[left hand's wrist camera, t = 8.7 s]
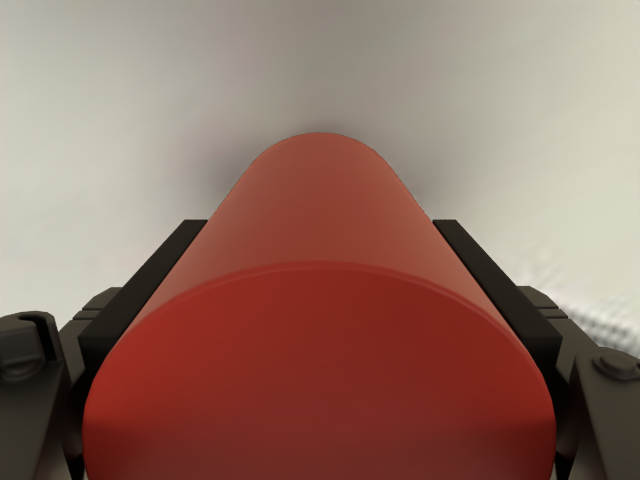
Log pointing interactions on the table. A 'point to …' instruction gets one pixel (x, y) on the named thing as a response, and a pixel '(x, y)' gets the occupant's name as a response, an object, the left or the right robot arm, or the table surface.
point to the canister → (319, 344)
